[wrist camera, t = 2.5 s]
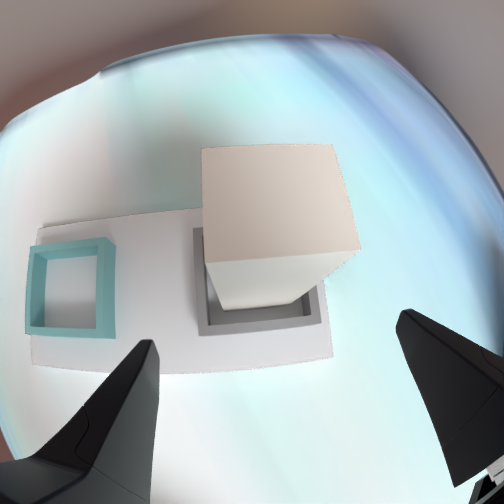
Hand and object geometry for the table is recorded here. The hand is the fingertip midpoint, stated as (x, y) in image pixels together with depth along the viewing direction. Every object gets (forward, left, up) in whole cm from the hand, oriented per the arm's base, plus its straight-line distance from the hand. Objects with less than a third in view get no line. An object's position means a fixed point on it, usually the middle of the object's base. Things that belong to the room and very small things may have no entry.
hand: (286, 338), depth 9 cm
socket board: (-3, +8, -11) cm, 13 cm away
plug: (+2, +3, -10) cm, 10 cm away
